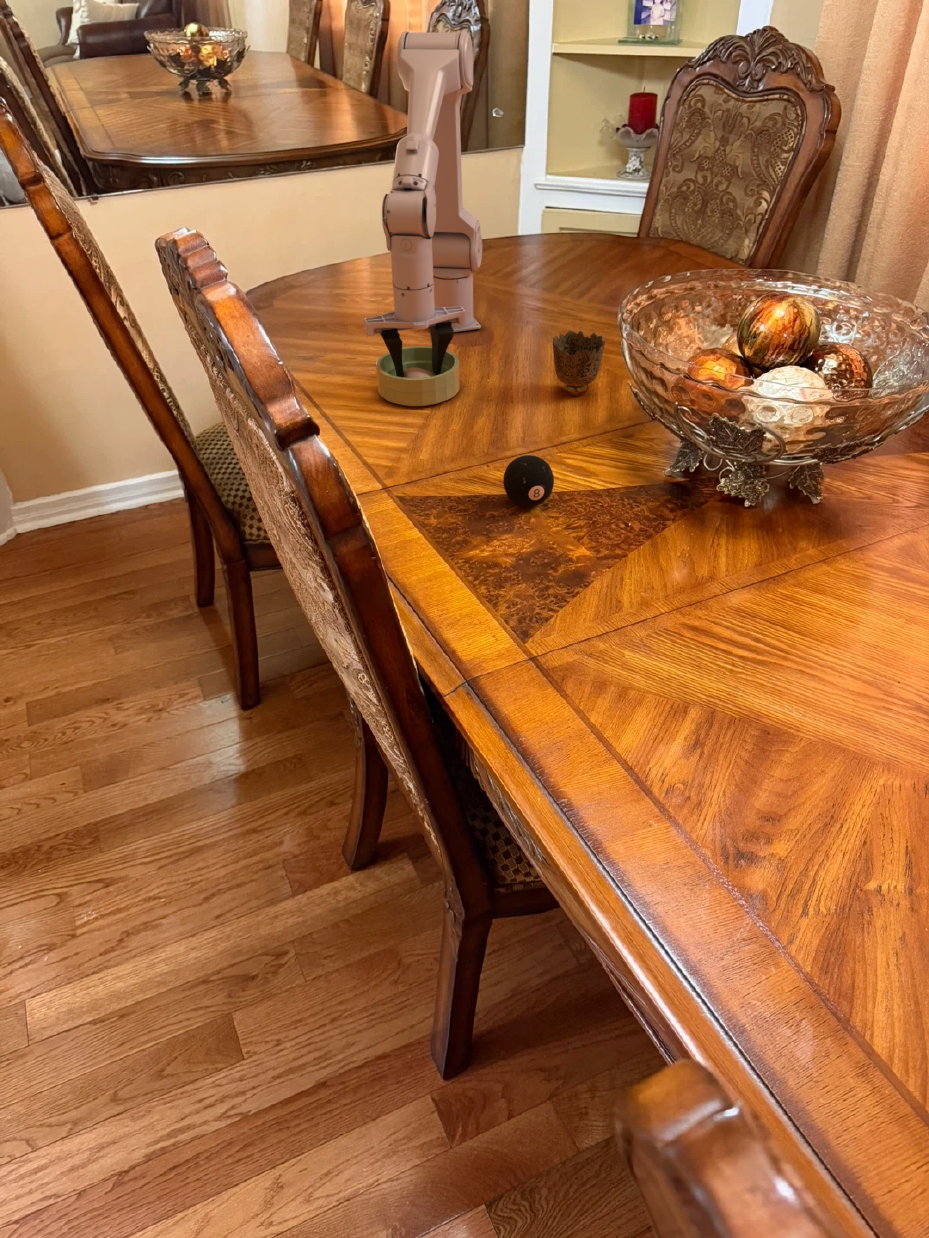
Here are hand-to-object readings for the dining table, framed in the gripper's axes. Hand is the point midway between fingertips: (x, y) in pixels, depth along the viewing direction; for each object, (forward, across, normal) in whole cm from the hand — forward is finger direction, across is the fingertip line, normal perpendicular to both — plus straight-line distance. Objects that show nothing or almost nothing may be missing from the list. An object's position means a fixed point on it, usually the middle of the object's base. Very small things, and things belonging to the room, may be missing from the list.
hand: (418, 375), depth 132 cm
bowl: (+2, 0, 0) cm, 2 cm away
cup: (+3, +22, -8) cm, 24 cm away
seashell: (+2, 0, 0) cm, 2 cm away
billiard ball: (+2, +5, -35) cm, 35 cm away
